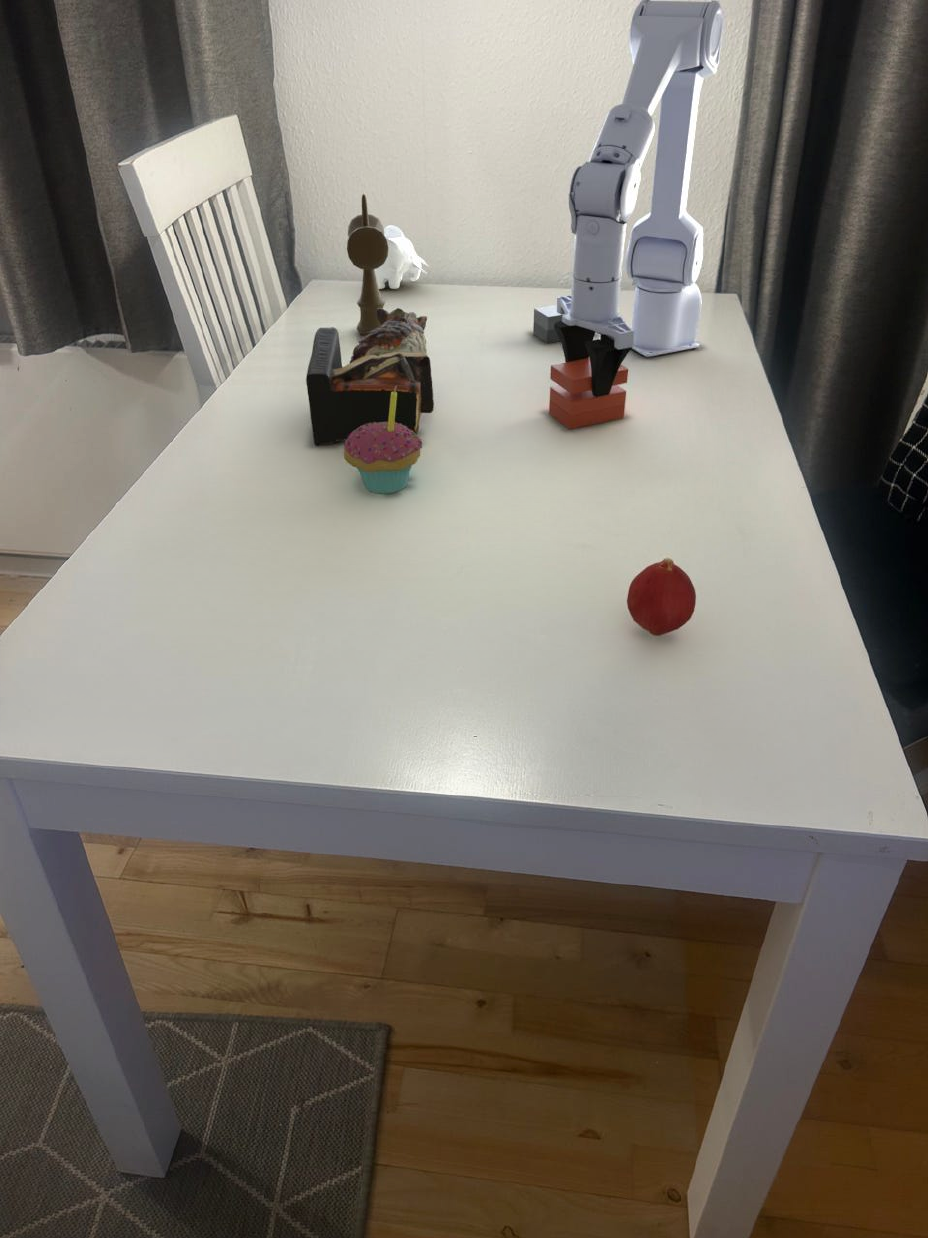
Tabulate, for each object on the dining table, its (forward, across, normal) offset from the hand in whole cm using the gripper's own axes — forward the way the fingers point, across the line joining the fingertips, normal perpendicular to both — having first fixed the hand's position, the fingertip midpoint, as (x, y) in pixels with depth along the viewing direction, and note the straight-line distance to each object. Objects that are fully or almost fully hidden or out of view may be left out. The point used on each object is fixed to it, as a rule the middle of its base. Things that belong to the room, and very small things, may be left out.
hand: (588, 385), depth 115 cm
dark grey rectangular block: (+4, -27, +12) cm, 30 cm away
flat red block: (-1, 0, 0) cm, 1 cm away
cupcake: (+4, +6, -30) cm, 31 cm away
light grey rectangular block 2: (+2, -27, +12) cm, 30 cm away
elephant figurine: (+4, -62, -2) cm, 62 cm away
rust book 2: (+2, 0, 0) cm, 2 cm away
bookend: (+4, -15, -23) cm, 28 cm away
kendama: (+4, -41, -14) cm, 44 cm away
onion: (+4, +42, -18) cm, 46 cm away
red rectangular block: (+4, 0, 0) cm, 4 cm away
